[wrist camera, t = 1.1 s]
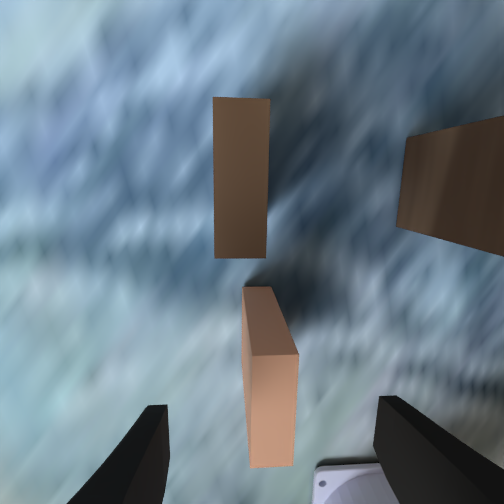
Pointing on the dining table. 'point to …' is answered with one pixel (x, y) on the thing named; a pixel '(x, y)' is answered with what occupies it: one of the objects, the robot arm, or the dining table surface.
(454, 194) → the domino
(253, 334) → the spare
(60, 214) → the dining table surface
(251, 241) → the domino
